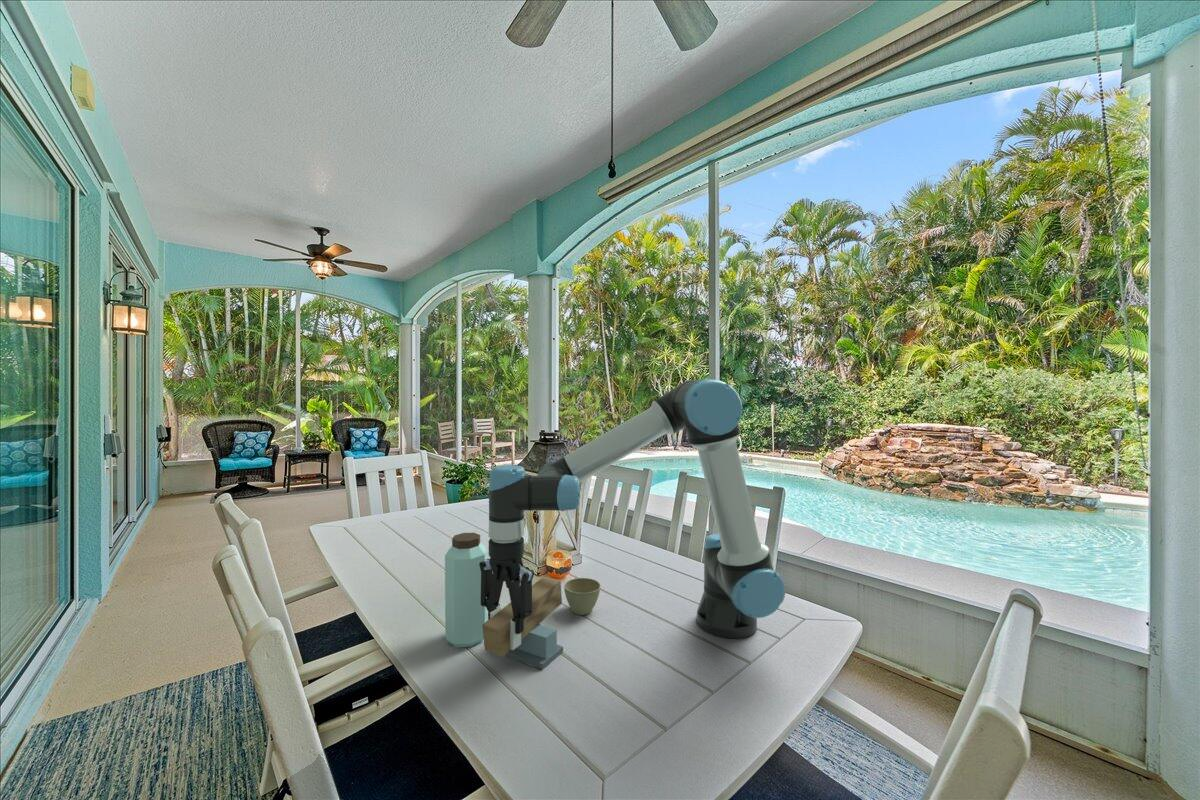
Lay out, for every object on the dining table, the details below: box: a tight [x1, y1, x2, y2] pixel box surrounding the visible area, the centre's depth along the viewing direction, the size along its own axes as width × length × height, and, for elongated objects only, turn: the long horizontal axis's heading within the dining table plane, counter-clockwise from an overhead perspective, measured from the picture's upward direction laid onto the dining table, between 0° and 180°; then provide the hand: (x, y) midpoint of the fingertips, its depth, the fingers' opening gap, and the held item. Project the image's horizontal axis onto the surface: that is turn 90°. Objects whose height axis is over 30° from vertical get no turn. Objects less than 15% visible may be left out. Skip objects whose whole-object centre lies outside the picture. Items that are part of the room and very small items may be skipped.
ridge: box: [504, 623, 564, 671], centre depth 110 cm, size 15×8×6 cm, turn 61°
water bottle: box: [444, 532, 488, 648], centre depth 115 cm, size 10×10×25 cm
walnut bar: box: [482, 575, 563, 658], centre depth 109 cm, size 22×5×6 cm, turn 150°
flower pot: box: [563, 577, 601, 616], centre depth 129 cm, size 10×10×7 cm
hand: (505, 642), depth 103 cm, fingers closed on walnut bar, 5 cm apart
